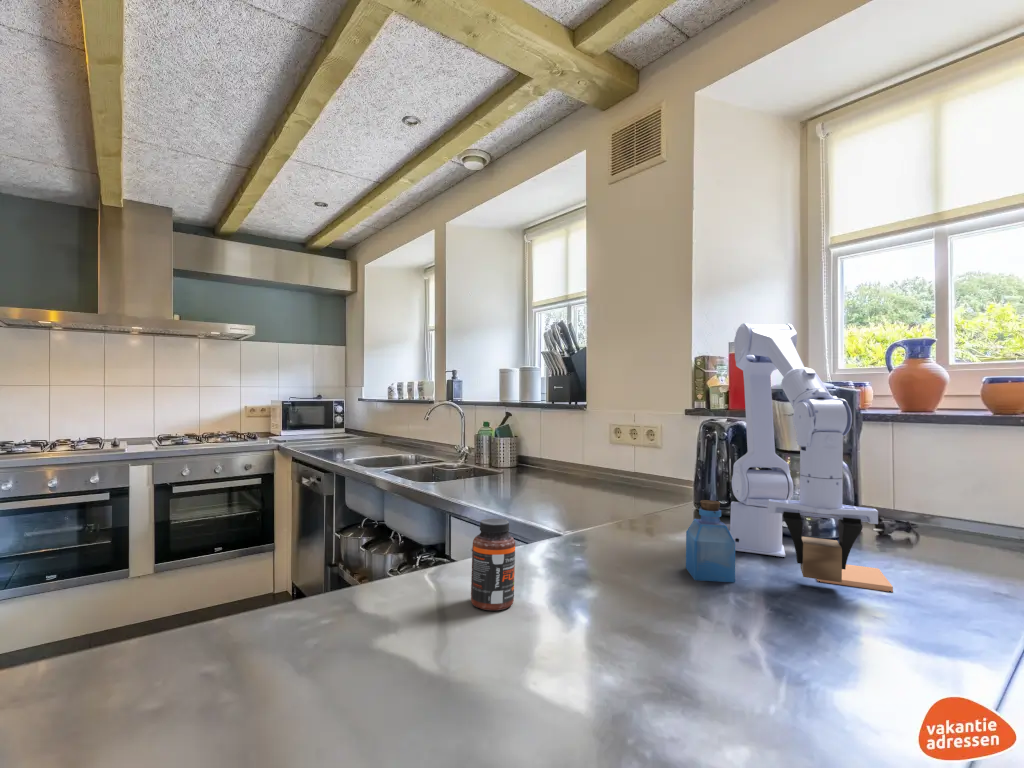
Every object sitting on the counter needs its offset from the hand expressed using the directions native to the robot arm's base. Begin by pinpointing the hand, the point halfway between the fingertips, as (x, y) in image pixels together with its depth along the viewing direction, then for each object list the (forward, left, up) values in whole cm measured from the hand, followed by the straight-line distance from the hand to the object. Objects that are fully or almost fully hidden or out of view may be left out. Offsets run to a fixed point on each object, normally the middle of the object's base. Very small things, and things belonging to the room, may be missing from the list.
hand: (820, 564), depth 81 cm
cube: (0, 0, -2) cm, 2 cm away
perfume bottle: (-16, -1, -4) cm, 17 cm away
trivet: (+5, +9, -4) cm, 11 cm away
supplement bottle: (-42, -29, -4) cm, 51 cm away
